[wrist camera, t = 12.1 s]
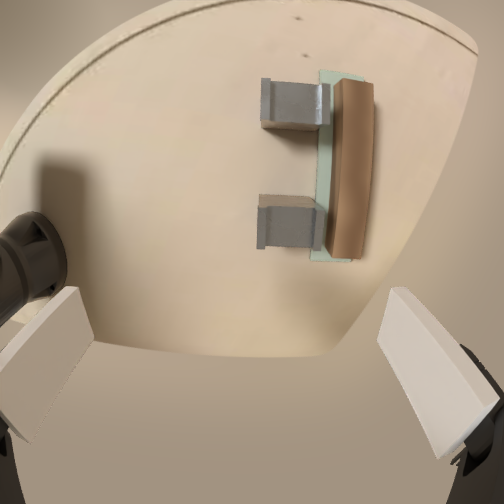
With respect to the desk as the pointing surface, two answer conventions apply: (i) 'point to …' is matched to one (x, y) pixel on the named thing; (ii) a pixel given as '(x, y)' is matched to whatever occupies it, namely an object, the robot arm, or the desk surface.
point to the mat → (326, 162)
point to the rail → (350, 168)
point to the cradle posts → (280, 206)
